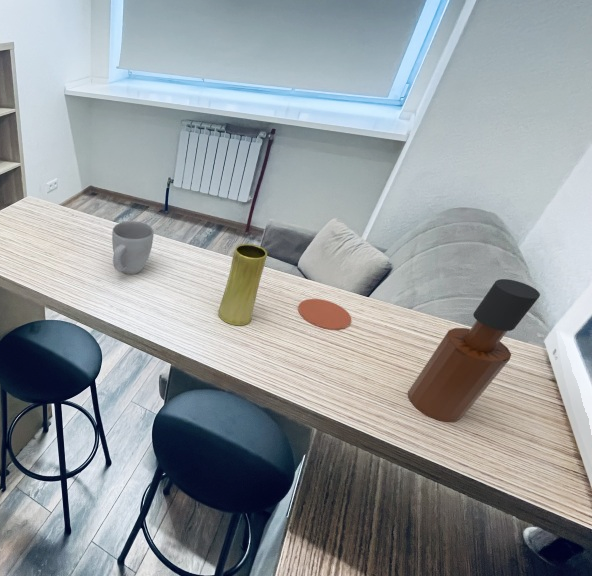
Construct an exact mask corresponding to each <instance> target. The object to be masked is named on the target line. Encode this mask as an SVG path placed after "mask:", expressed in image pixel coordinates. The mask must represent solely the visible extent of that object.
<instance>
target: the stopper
mask: <svg viewBox="0 0 592 576" xmlns="http://www.w3.org/2000/svg"><path fill="white" fill-rule="evenodd" d="M494 281H495V282H494V283H493V284H492V286H491V287H490V289H488V292H487V293H486V295H485V296H484V297H483V299H482V300H481V301H480V303H479V305H478V306H477V308H476V309H475V310H474V312H473V318H474V319H475V321H479V322H480V323H482V324H483V325H485V326H488V327H490V328H493V329H496V330H501V331H507V332H511V331H514V330H515V329H516V327H517V326H518V325H519V324H520V322H521V321H522V319H524V317H525V316H526V314H527V313H528V312H529V311H530V309H531V308H532V307H533V306H534V304H535V303H536V302H537V301H538V300H539V298H540V296H541V293H540V291H539V290H537V289H536V288H535V287H533V286H532V285H529V284H527V283H524V282H521V281H519V280H514V279H507V278H501V279H497V280H494Z"/></svg>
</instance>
